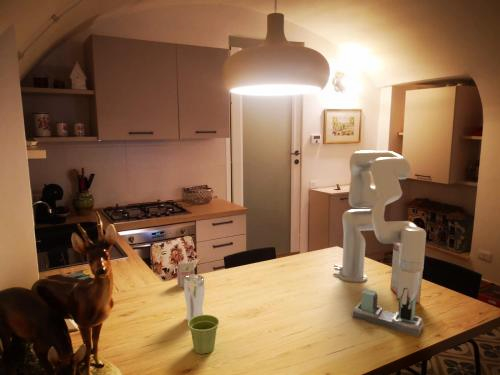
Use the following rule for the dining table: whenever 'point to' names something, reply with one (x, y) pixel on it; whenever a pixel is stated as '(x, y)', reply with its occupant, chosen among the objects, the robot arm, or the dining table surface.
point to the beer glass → (194, 295)
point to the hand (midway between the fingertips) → (407, 315)
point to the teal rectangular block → (369, 300)
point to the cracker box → (397, 270)
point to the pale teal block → (410, 308)
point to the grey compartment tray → (389, 320)
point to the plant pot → (203, 332)
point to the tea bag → (184, 272)
